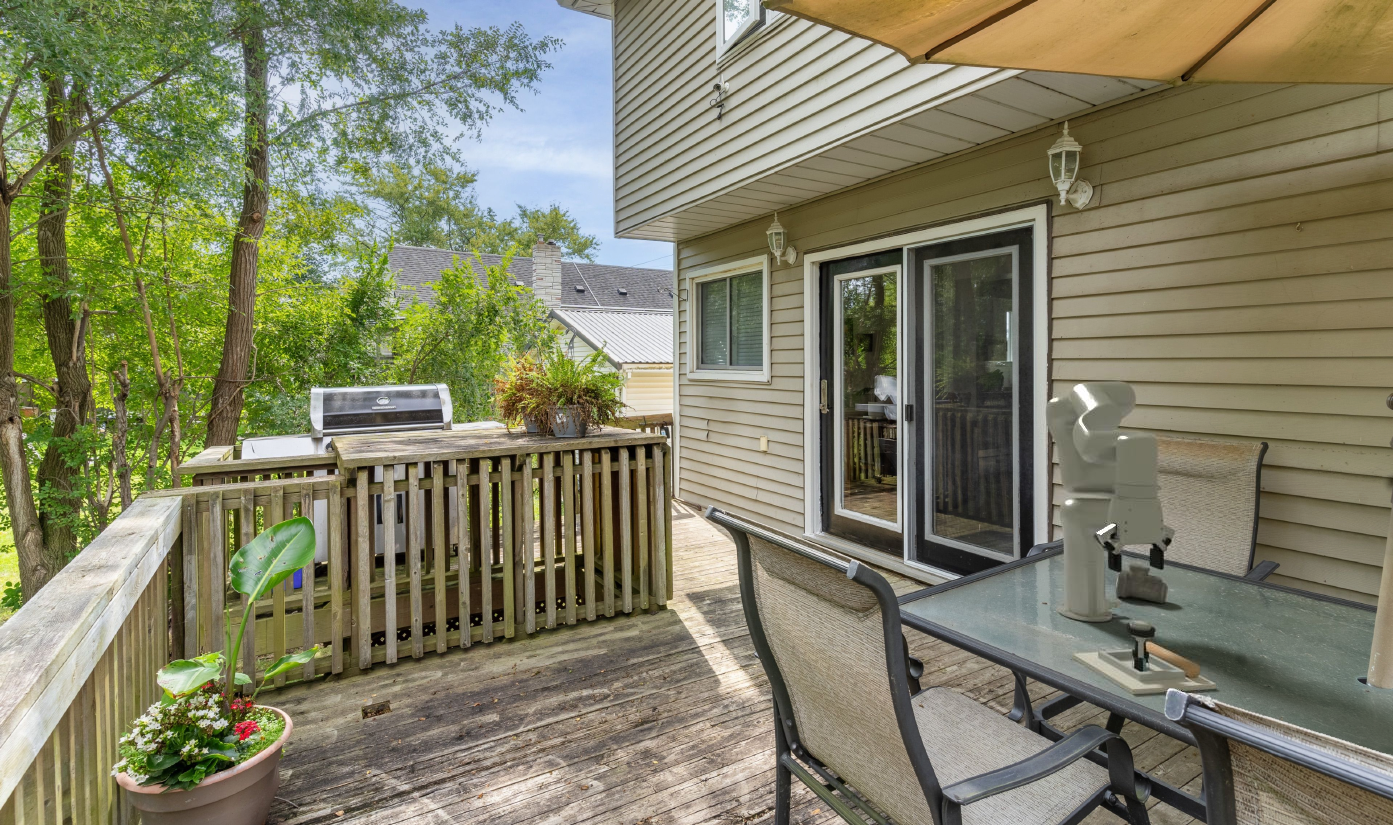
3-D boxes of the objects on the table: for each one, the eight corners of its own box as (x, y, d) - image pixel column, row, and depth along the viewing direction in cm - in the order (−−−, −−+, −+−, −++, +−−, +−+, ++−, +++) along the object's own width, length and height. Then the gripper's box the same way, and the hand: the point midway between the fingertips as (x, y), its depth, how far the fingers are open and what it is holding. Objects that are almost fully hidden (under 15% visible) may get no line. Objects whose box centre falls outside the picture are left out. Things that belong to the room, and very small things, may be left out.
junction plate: (1146, 653, 148) (1146, 636, 147) (1216, 688, 130) (1215, 669, 130) (1072, 657, 146) (1072, 640, 146) (1132, 694, 128) (1132, 674, 128)
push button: (1125, 659, 142) (1124, 614, 142) (1154, 664, 139) (1154, 618, 139) (1126, 670, 137) (1125, 624, 136) (1156, 675, 134) (1156, 628, 134)
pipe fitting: (1112, 597, 186) (1117, 562, 185) (1117, 593, 192) (1122, 559, 192) (1163, 610, 178) (1168, 574, 178) (1166, 605, 184) (1171, 570, 184)
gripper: (1159, 486, 143) (1159, 562, 144) (1086, 490, 142) (1086, 566, 143) (1188, 492, 136) (1187, 572, 137) (1111, 496, 134) (1110, 576, 135)
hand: (1135, 569), depth 140 cm, fingers open, 9 cm apart
